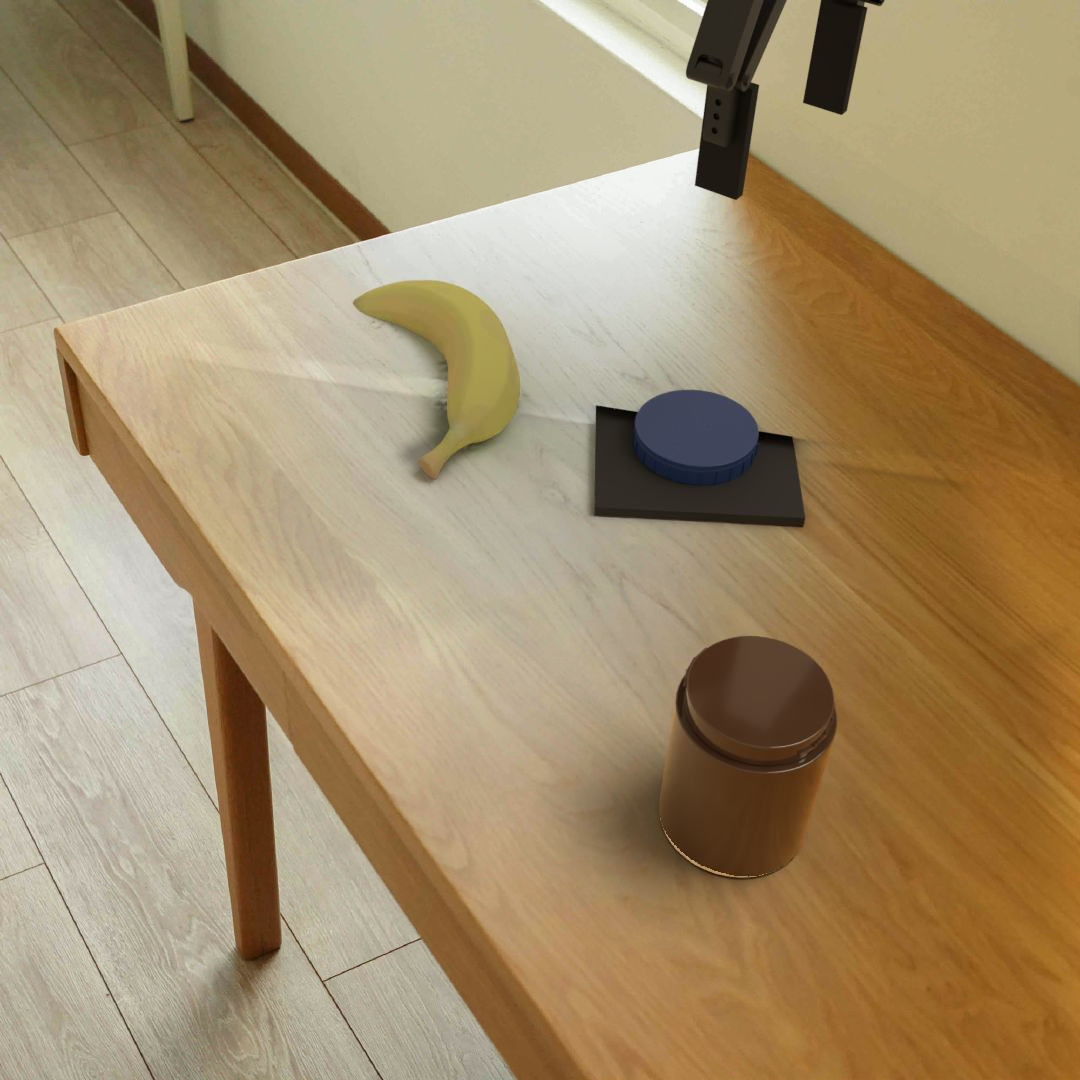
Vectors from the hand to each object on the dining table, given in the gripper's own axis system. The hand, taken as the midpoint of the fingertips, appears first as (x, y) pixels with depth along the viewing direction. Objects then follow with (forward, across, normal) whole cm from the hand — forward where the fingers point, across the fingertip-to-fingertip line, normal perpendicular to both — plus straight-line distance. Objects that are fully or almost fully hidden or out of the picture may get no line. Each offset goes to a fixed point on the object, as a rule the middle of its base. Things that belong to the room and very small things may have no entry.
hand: (774, 147), depth 81 cm
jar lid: (+21, +3, -1) cm, 21 cm away
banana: (+23, +8, -20) cm, 32 cm away
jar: (+23, +28, +16) cm, 39 cm away
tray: (+23, +3, -1) cm, 23 cm away
